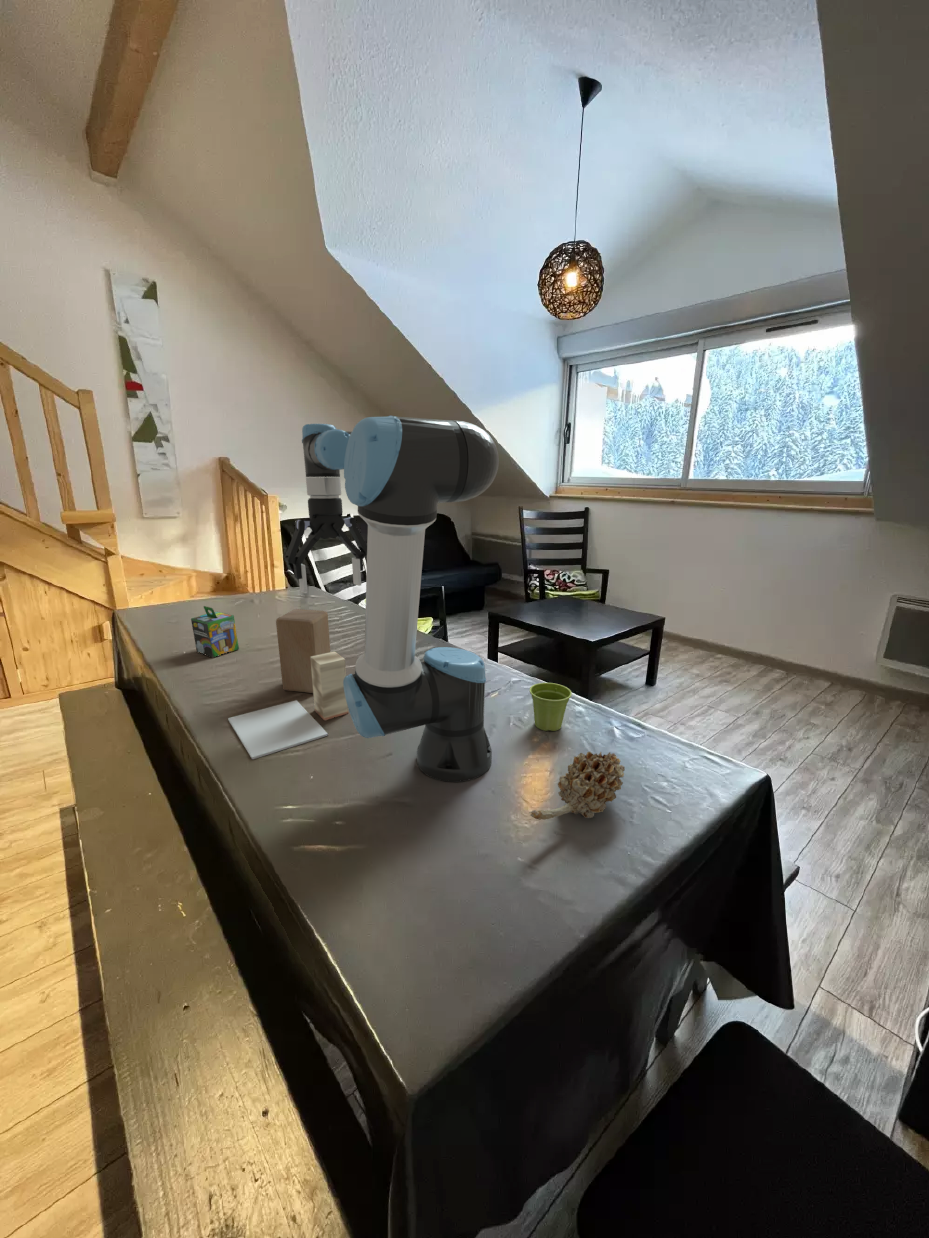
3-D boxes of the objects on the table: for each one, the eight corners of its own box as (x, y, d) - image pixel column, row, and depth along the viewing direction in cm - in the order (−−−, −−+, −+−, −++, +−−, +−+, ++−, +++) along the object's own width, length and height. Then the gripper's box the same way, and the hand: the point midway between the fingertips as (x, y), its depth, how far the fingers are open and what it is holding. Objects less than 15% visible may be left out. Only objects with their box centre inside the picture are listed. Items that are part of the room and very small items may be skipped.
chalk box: (239, 650, 161) (234, 605, 156) (212, 658, 153) (205, 612, 149) (222, 644, 165) (216, 600, 161) (195, 652, 158) (188, 607, 154)
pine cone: (586, 777, 98) (590, 731, 95) (632, 800, 91) (638, 752, 88) (512, 833, 83) (515, 781, 80) (561, 865, 76) (566, 809, 73)
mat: (328, 735, 111) (327, 733, 111) (252, 759, 102) (252, 757, 102) (296, 701, 127) (296, 700, 126) (228, 720, 117) (228, 718, 117)
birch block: (348, 713, 121) (345, 659, 117) (324, 720, 118) (320, 664, 114) (338, 704, 126) (334, 651, 122) (314, 710, 122) (310, 656, 118)
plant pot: (544, 711, 123) (546, 678, 121) (576, 725, 117) (579, 691, 114) (519, 724, 117) (521, 690, 114) (552, 740, 111) (555, 704, 108)
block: (316, 695, 130) (310, 621, 125) (281, 691, 132) (273, 618, 126) (333, 679, 140) (329, 610, 134) (300, 676, 142) (294, 607, 136)
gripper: (365, 495, 125) (370, 579, 131) (263, 498, 110) (273, 593, 116) (381, 496, 120) (385, 584, 125) (275, 499, 105) (285, 598, 110)
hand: (331, 588), depth 121 cm, fingers open, 13 cm apart
